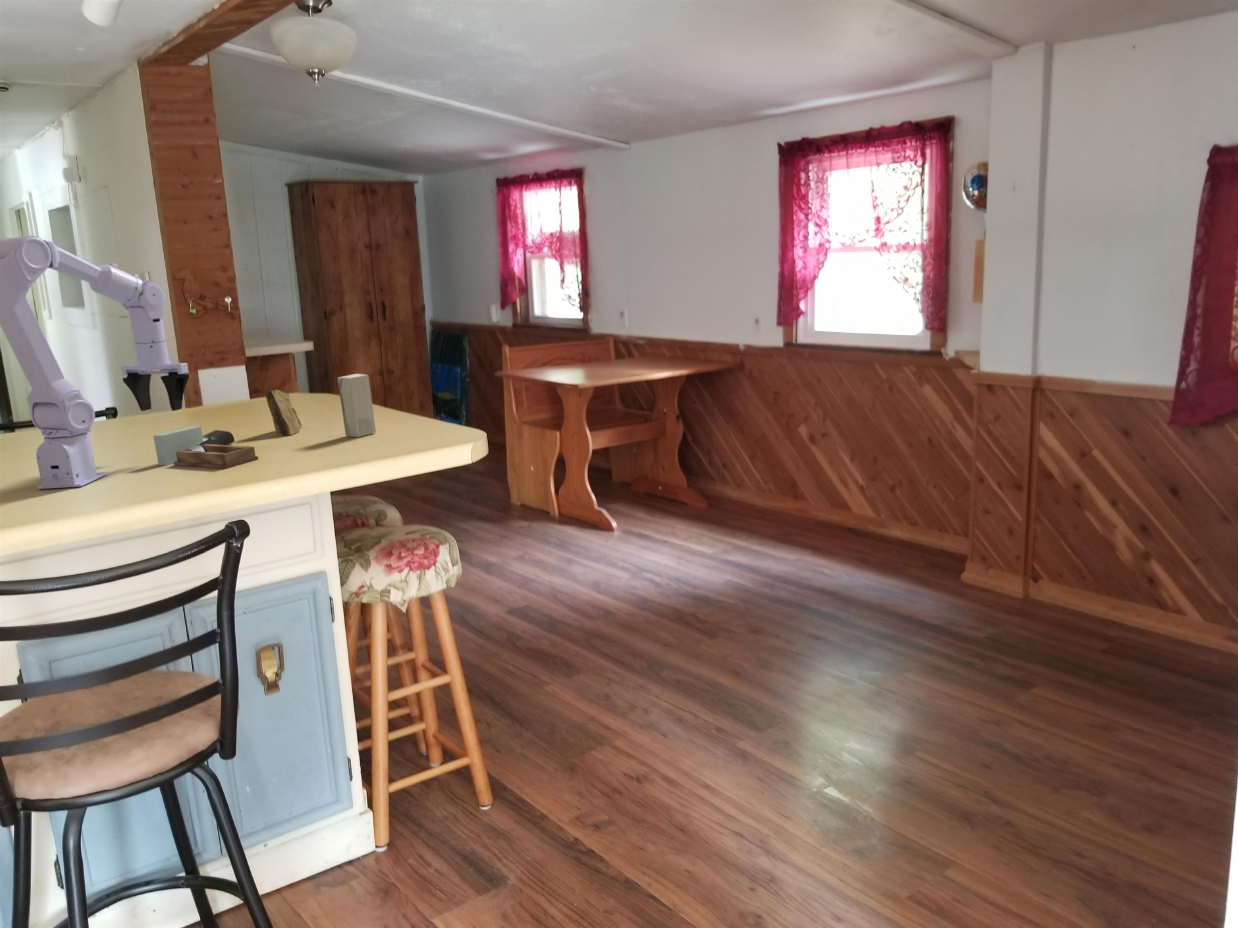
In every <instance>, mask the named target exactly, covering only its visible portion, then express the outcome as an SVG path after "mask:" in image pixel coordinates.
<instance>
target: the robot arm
mask: <svg viewBox="0 0 1238 928" xmlns="http://www.w3.org/2000/svg"><path fill="white" fill-rule="evenodd" d="M118 267H119V265H118V264H116V263H113V262H111V263H100V264H99V265H95V264H92V263H91V262H89V261H87V260H85V259H83V258H82V257H80V256H78V255H75V254H73V253H71V252H69V251H67V250H65V249H63V248H61V247H60V246H57V245H56V244H55V243H54V242H53V241H50V240H47V239H42V238H41V237H39V236H36V235H33V234H29V235H23V236H17V237H7V238H4V237H3V238H2V237H0V328H1V329H2V332H3V333H4V335H5V337H6V340H7V342H8V344H9V346H10V348H11V350H12V352H13V353H14V356H15V357H16V359H17V362H18V364H19V366H20V367H21V369H22V372H23V374H24V376H25V377H26V380H27V383H28V384H29V386H30V387H31V390H30V392H29V394H28V395H27V396H26V401H27V403H28V405H29V409H30V420H31V422H32V424H33V425H34V427H35V428H37V429H39V431H40V433H41V436H43V442H42V443H40V445H38V448H37V450H36V454H35V456H36V457H35V458H36V463H37V467H38V472H39V477H40V483H41V484H40V485H38V486H37V490H43V489H45V490H46V489H61V488H63V489H64V488H76V487H78V488H79V487H83V486H85V485H87V484H89V483H91V482H94V481H96V480H98V479H100V478H102V477H104V476H106V475H108V473H107V472H106V471H101V472H98V471H97V468H96V463H95V457H94V452H93V447H92V441H91V436H90V435H91V434H90V433H91V428H92V426H93V425H94V423H95V418H96V413H95V408H94V407H93V405H92V403H91V402H90V401H88V400H87V399H86V398H85V397H84V395H83V394H82V393H81V391H80V388H78V387H76V385H74V383H71V382H70V381H69V380H67V379H66V378H65V376H64V374H63V372H62V370H61V367H60V365H59V363H58V360H57V359H56V356H55V355H54V353H53V351H52V348H51V346H50V344H49V342H48V341H47V338H46V337H45V335H44V332H43V330H42V327H41V326H40V323H39V321H38V319H37V317H36V315H35V314H34V311H33V309H32V307H31V304H30V303H29V301H28V299H27V294H28V292H29V291H30V288H31V286H32V285H33V284H34V283H35V282H36V281H37V280H38V279H39V278H40V276H42V275H43V274H44V272H46V271H47V270H48V269H51V270H53V271H56V272H58V273H62V274H65V275H67V276H70V277H72V278H75V279H77V280H78V279H79V280H81V281H84V282H86V283H88V284H89V287H90V289H91V290H92V291H93V293H96V294H98V295H101V296H104V297H107V298H108V299H111V300H113V301H116V302H119V303H120V304H121V306H122V307H123V309H125V310H127V311H128V313H129V321H130V326H131V327H130V328H131V331H132V337H133V343H134V344H133V345H134V351H135V355H136V362H137V363H136V364H135V363H134V364H133V363H131V364H123V365H120V366H121V367H120V368H121V373H122V375H123V376H126V377H123V378H122V382H123V383H124V384H125V385H126V387H128V389H129V390H130V391H131V393H132V395H133V396H134V398H135V400H136V403H137V405H138V407H139V410H140V411H141V412H142V411H143V412H144V411H145V412H146V411H149V410H152V399H151V388H150V387H151V385H150V384H151V377H152V375H161V376H160V379H161V381H162V383H163V385H164V387H165V390H166V393H167V397H168V400H169V405H170V409H171V411H173V412H174V411H178V410H182V408H183V401H184V392H185V389H186V387H187V382H188V380H189V379H190V374H189V372H190V371H189V365H188V362H172V361H170V357H169V350H168V345H167V341H166V333H165V327H164V321H163V317H164V316H163V315H164V306H165V304H166V302H167V301H166V300H167V293H164V291H163V289H162V288H161V286H160V285H159V284H158V283H157V282H155V281H154V280H153V281H152V280H142V279H141V278H140V277H139V275H138V274H136V273H131V274H130V273H128V272H126V271H123V270H122V269H120V268H118ZM165 374H166V375H165Z"/></svg>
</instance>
